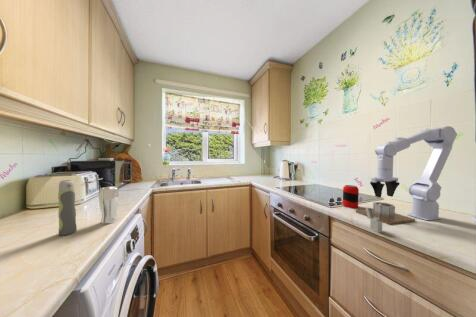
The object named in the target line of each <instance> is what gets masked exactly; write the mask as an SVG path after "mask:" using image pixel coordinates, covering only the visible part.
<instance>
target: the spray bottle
mask: <svg viewBox="0 0 476 317" xmlns="http://www.w3.org/2000/svg"><path fill="white" fill-rule="evenodd" d="M57 199H58V235H59V236H67V235H72V234H74V233H75V232H76V231H77V228H78V227H77V220H76V219H77V217H76V216H77V209H76V193H75V182H74V181H73V180H72V179H65V180H61V181H60V182H59V183H58V197H57Z"/></svg>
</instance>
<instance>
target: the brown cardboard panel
mask: <svg viewBox="0 0 476 317" xmlns="http://www.w3.org/2000/svg"><path fill="white" fill-rule="evenodd" d="M378 203H384V204H388V205H390V206H382V205H378ZM372 211H373V215H374V217H377V218H379V221H381V222H382V224H386V225H396V224H405V223H412V222H416V219H415V218H414V217H413V218H412V217H411V216H410V217H409V216H405V215H403V214H400V213H397V212H396V206H395V205H394V204H391V203H388V202H380V201H378V202H377V201H375V202H374V201H373V204H372ZM355 213H356V214H360V215H362V216H365V217H367V218H368V216H367V212H366V208H365V209H356V210H355Z"/></svg>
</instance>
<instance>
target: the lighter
mask: <svg viewBox="0 0 476 317" xmlns="http://www.w3.org/2000/svg"><path fill="white" fill-rule="evenodd" d="M365 209H366V212H367V216H368V217H367V216H366V217H367V218H368V219H370V221H369V222H370V225H369V228H370V230H372V231H374V232H375V233H377V234H382V233H383V222H381V221H379V218H377V217H374V215H373V211H372V209H373V207H367V208H366V207H365Z"/></svg>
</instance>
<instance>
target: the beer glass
mask: <svg viewBox="0 0 476 317" xmlns="http://www.w3.org/2000/svg"><path fill="white" fill-rule="evenodd" d="M119 194H120V193H119V186H105V187H104V186H103V187H100V188H99V192H98V195H99V196H98V202H99V207H100V211H101V219H100V220H101V221H100V223H101V224H102V225H110V224H114V223H116V222H118V221H119V218H118V211H117V210H118V207H119V206H118V205H119V201H120V200H119V199H120V198H119V197H120V195H119Z"/></svg>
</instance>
